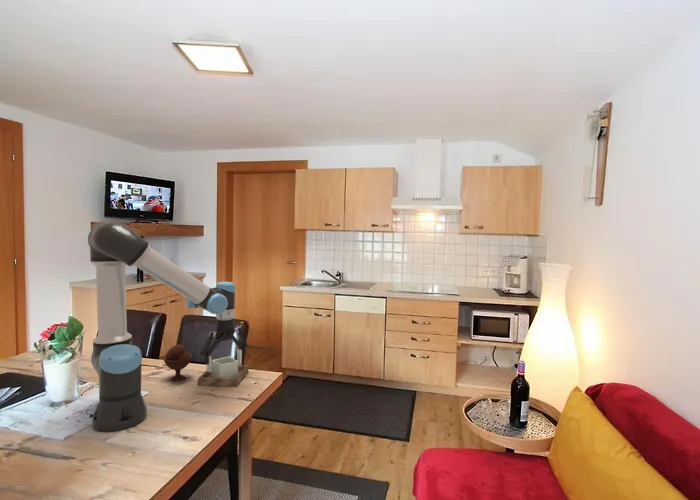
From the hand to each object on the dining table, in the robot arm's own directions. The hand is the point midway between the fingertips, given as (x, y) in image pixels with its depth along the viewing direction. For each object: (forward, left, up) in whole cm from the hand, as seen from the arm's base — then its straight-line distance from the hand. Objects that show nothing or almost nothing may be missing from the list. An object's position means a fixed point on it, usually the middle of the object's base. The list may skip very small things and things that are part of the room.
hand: (224, 367), depth 156 cm
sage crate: (0, 0, -4) cm, 4 cm away
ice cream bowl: (-19, -2, -5) cm, 20 cm away
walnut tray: (0, 0, -5) cm, 5 cm away
